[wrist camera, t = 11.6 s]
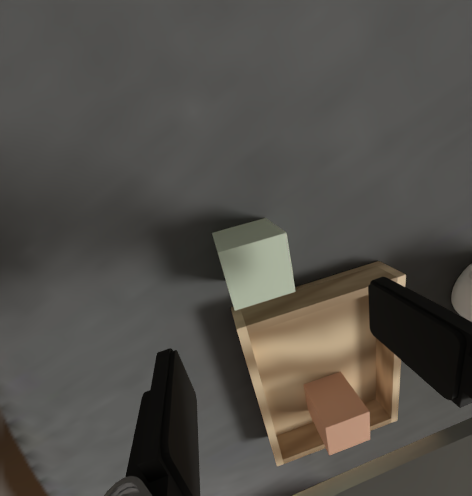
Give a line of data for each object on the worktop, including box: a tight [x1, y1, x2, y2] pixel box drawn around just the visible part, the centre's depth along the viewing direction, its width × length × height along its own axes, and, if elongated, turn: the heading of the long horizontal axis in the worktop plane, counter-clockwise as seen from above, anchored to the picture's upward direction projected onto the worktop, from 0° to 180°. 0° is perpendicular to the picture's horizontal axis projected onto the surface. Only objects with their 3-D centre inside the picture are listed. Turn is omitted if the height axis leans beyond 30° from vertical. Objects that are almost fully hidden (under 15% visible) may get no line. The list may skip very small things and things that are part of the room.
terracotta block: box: [303, 371, 370, 455], centre depth 24 cm, size 4×4×4 cm
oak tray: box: [231, 261, 406, 466], centre depth 24 cm, size 20×15×3 cm
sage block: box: [212, 218, 296, 311], centre depth 17 cm, size 4×4×4 cm
